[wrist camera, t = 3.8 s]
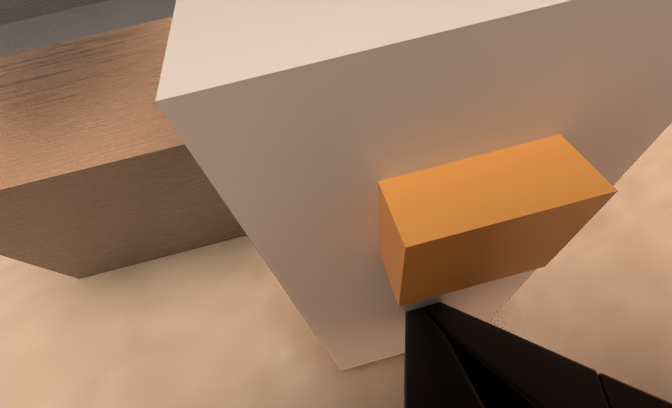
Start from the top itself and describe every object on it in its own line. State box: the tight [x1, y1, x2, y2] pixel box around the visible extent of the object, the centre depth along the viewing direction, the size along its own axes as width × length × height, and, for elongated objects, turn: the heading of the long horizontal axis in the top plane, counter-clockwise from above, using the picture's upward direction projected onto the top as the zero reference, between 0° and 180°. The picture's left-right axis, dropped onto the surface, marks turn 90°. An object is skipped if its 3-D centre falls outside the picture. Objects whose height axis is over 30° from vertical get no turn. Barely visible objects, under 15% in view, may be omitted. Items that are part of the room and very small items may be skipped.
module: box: [155, 0, 672, 371], centre depth 8 cm, size 5×5×11 cm
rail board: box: [0, 0, 247, 279], centre depth 9 cm, size 6×18×16 cm, turn 104°
